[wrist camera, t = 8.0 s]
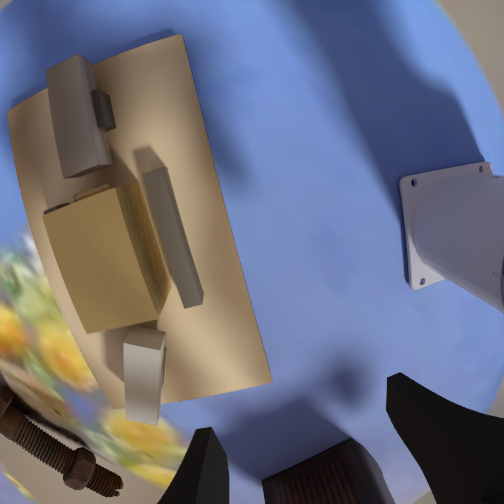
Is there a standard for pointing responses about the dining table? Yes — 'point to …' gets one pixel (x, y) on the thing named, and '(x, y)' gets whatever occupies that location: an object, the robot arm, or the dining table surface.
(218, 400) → the dining table surface
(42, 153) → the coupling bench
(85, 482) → the bolt
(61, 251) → the block
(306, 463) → the brown manual coffee grinder
